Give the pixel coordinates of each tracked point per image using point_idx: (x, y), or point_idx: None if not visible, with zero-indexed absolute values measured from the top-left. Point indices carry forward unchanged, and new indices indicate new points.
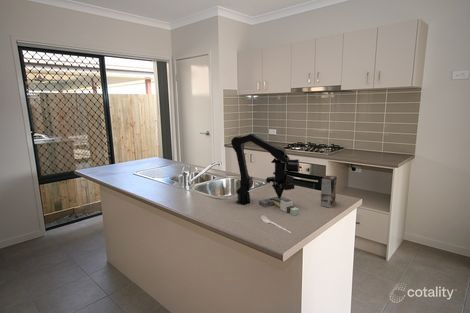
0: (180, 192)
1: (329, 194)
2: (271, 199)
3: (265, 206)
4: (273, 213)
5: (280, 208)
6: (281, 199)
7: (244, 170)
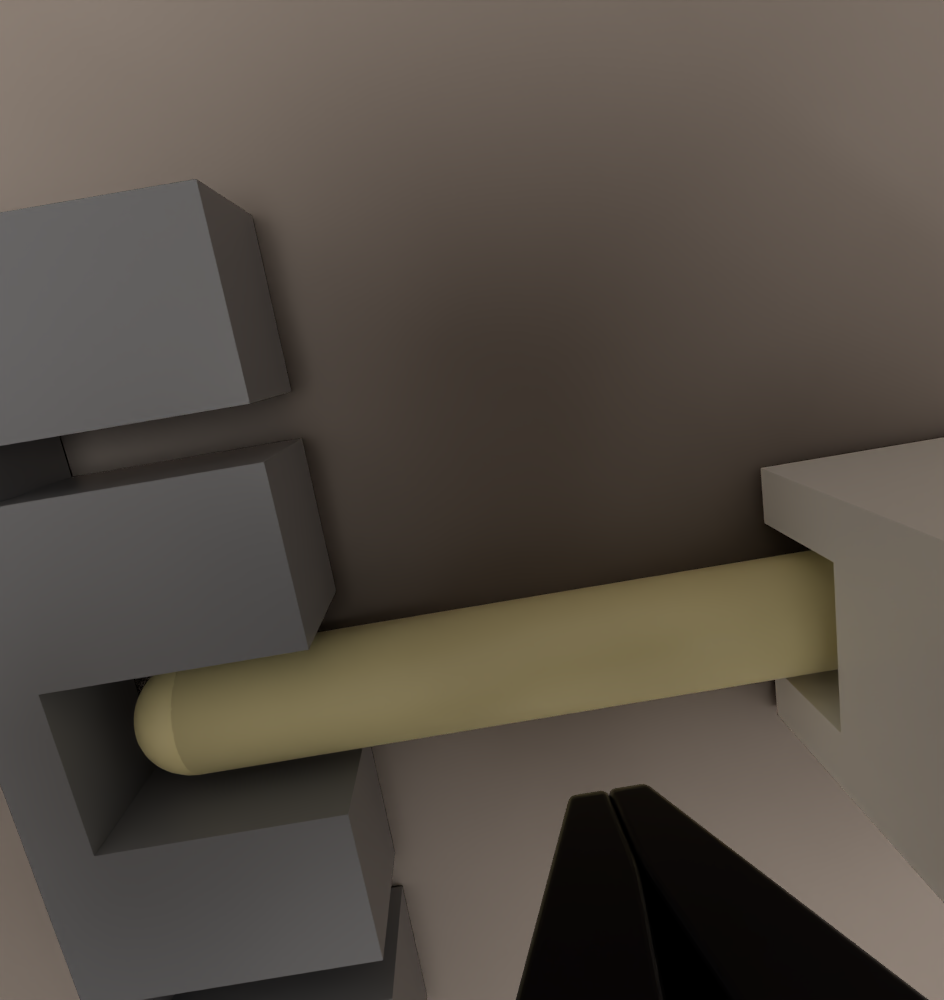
0: None
1: None
2: (81, 744)
3: (420, 973)
4: (899, 958)
5: (797, 728)
6: (210, 408)
7: None
